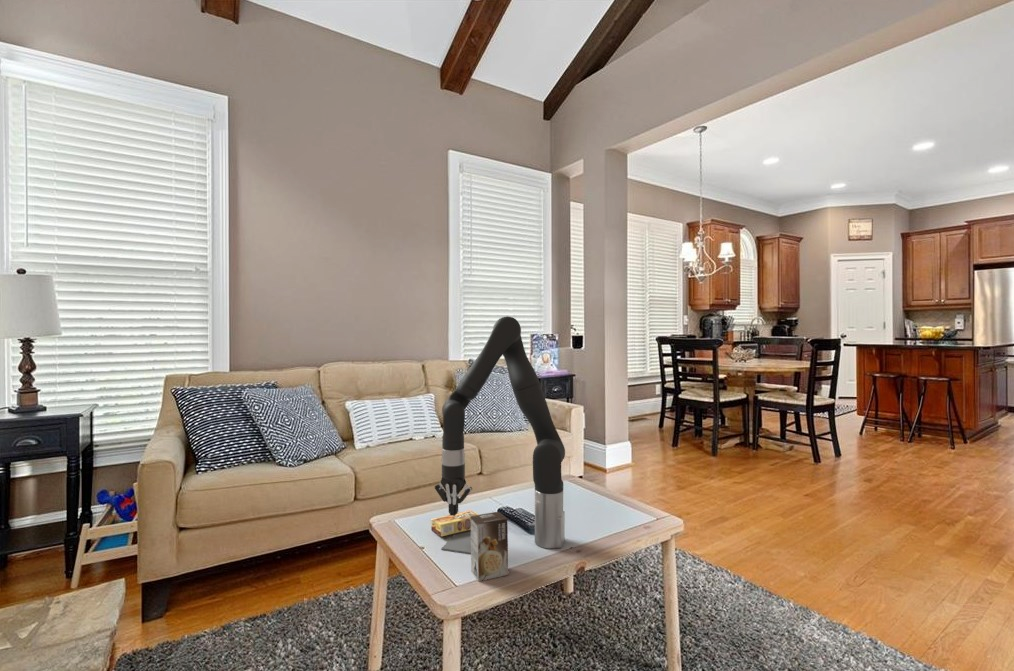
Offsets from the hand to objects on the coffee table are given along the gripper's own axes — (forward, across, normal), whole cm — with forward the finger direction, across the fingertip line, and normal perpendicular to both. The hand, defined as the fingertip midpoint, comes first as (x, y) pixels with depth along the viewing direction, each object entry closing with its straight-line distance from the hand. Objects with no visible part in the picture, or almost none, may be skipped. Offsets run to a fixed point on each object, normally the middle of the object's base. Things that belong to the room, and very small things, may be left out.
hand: (453, 514), depth 156 cm
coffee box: (+9, -18, +16) cm, 26 cm away
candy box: (+6, +8, -2) cm, 10 cm away
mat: (+8, -6, 0) cm, 11 cm away
